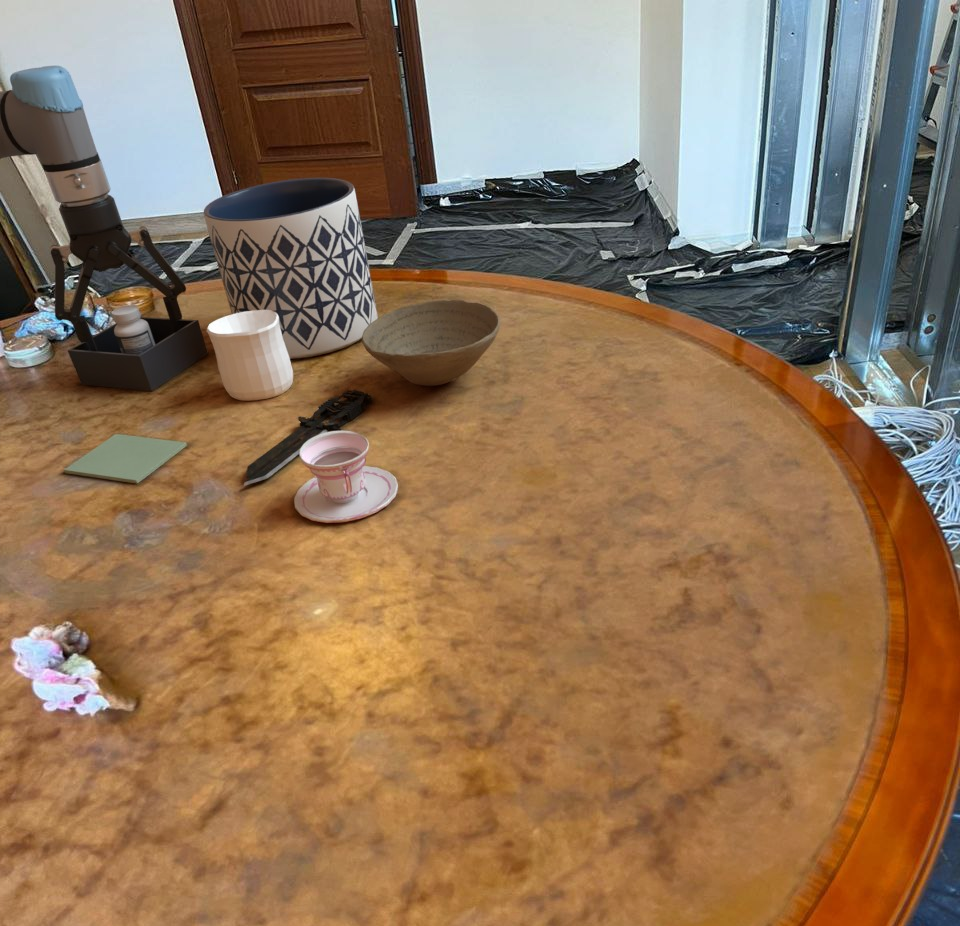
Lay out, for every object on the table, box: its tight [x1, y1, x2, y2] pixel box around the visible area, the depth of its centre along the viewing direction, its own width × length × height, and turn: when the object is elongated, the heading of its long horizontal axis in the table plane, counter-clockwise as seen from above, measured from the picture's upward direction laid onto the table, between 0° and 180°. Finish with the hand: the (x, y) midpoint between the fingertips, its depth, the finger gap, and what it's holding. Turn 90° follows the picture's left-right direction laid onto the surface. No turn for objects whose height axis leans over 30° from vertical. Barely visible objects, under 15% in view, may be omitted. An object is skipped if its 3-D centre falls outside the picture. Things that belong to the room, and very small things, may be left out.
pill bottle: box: [111, 304, 156, 355], centre depth 135 cm, size 5×5×9 cm
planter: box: [203, 177, 379, 360], centre depth 136 cm, size 22×22×20 cm
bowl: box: [361, 299, 501, 387], centre depth 121 cm, size 18×18×8 cm
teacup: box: [293, 429, 399, 524], centre depth 99 cm, size 12×12×6 cm
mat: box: [63, 433, 188, 484], centre depth 114 cm, size 12×10×1 cm
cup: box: [206, 310, 294, 402], centre depth 125 cm, size 10×10×10 cm
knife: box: [242, 389, 373, 487], centre depth 113 cm, size 25×6×1 cm, turn 147°
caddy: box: [67, 316, 209, 392], centre depth 137 cm, size 14×14×5 cm
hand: (139, 351), depth 137 cm, fingers open, 12 cm apart
